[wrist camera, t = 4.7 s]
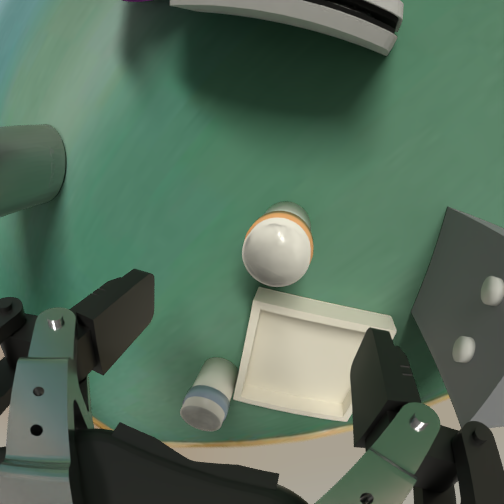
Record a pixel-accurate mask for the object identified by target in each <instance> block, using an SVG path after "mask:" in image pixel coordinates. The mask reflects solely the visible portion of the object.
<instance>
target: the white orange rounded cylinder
mask: <svg viewBox="0 0 504 504" xmlns="http://www.w3.org/2000/svg"><path fill="white" fill-rule="evenodd" d="M312 256H313V237H312V233H311V221H310V218H309V216H308V214H307V212H306V211H305V210H304V209H303V208H302V207H301V206H299V205H298V204H295V203H293V202H279V203H276V204H274V205H272V206H271V207H269V208H268V209H267V211H266V212H265V213H264V215H262V216H261V217H260V218H258V219H257V220H256V221H255V223H254V224H253V225H252V226H251V228H250V229H249V230H248V232H247V234H246V237H245V240H244V244H243V248H242V257H243V262H244V265H245V267H246V269H247V271H248V272H249V273H250V275H251V276H252V277H253V278H255V279H256V280H257V281H259V282H261V283H263V284H265V285H268V286H273V287H283V286H287V285H290V284H293V283H295V282H296V281H298V280H299V279H300V278H301V277H302V276H303V275H304V274H305V272H306V271H307V269H308V267H309V264H310V262H311V259H312Z"/></svg>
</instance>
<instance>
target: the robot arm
mask: <svg viewBox="0 0 504 504" xmlns="http://www.w3.org/2000/svg"><path fill="white" fill-rule="evenodd" d="M65 166H66V164H65V150H64V145H63V142H62V139H61V137H60V135H59V133H58V132H57V131H56V129H55V128H53V127H52V126H50V125H47V124H43V125H18V126H4V127H0V217H3V216H6V215H9V214H11V213H14V212H17V211H20V210H24V209H27V208H30V207H33V206H36V205H39V204H42V203H46V202H48V201H50V200H52V199H53V198H54V197H55V196H56V195H57V193H58V192H59V190H60V188H61V185H62V183H63V179H64V175H65ZM153 314H154V276H153V274H151V273H148V272H144V271H141V270H137V269H133V270H131V271H130V272H129V273H127V274H126V275H125V276H123V277H122V278H121V277H119V278H116V279H113V280H111V281H108V282H107V283H105V284H104V285H102V286H101V287H100V289H97V290H95V291H94V292H93V294H90V295H89V296H87V297H86V298H84V299H83V300H82V301H80V302H79V303H78V304H76V305H75V306H74V307H72V308H71V309H70V310H69V309H66V308H59V307H57V308H50V309H47V310H45V311H43V312H42V313H41V314H40V315H39V316H35V315H31V314H26V313H24V309H23V305H22V302H21V301H20V300H19V299H17V298H14V297H5V298H2V299H0V345H1V348H2V350H3V353H4V355H5V357H4V358H3V359H2V360H0V415H1V414H2V413H3V411H4V410H5V409H6V408H7V407H8V406H9V405H10V410H9V417H8V429H7V443H6V447H0V504H308V503H307V502H306V501H305V500H304V499H302V498H301V497H300V496H299V495H297V494H295V493H294V492H292V491H291V490H289V489H287V488H285V487H283V486H281V485H278V484H277V483H278V477H279V474H278V473H272V472H267V471H262V470H258V469H253V468H249V467H245V466H240V465H230V464H216V463H204V462H196V461H192V460H189V459H187V458H185V457H184V456H182V455H181V454H179V453H177V452H176V451H174V450H173V449H171V448H170V447H168V446H167V445H165V444H164V443H162V442H161V441H159V440H158V439H156V438H155V437H152V436H150V435H147V434H145V433H143V432H140V431H138V430H136V429H134V428H131V427H129V426H127V425H125V424H123V423H121V422H120V423H119V424H118V426H117V427H116V429H115V430H114V431H112V430H106V429H94V425H93V420H92V411H91V399H90V385H89V377H88V374H89V373H90V372H91V370H93V371H95V372H97V373H99V374H101V375H104V374H105V373H106V372H107V371H108V370H109V369H110V367H111V366H112V365H113V364H114V363H115V362H116V361H117V359H118V358H119V357H120V356H121V355H122V354H123V353H124V352H125V350H126V349H127V348H128V347H129V346H130V345H131V344H132V343H133V341H134V340H135V339H136V338H137V337H138V336H139V335H140V334H141V333H142V331H143V330H144V329H145V328H146V327H147V326H148V325H149V324H150V322H151V320H152V317H153ZM412 375H413V374H412V371H411V368H410V365H409V362H408V359H407V356H406V355H405V354H404V352H403V351H402V350H401V349H400V347H399V346H394V344H393V341H392V338H391V335H390V332H389V331H386V330H381V329H376V328H371V327H370V328H368V329H367V331H366V333H365V335H364V338H363V340H362V342H361V344H360V347H359V349H358V351H357V353H356V355H355V358H354V360H353V362H352V366H351V370H350V383H351V397H352V413H353V434H354V447H361V448H366V453H365V454H364V455H363V456H362V458H360V459H359V461H358V462H357V463H356V464H355V465H354V466H353V467H352V468H351V469H350V470H349V471H348V472H347V473H346V474H345V475H344V476H343V477H342V478H341V479H340V480H339V481H338V482H337V483H336V484H335V485H334V486H333V487H332V488H331V489H330V490H329V491H328V492H327V493H326V494H325V495H323V497H321V498H320V499H319V500H318V501H317V502H316V503H314V504H402V503H403V501H404V500H405V498H406V497H407V495H408V494H409V492H410V491H411V489H412V488H413V490H414V504H456V496H455V489H454V484H455V483H456V482H458V481H459V488H460V495H461V504H504V470H503V466H502V463H501V459H500V455H499V452H498V449H497V445H496V442H495V439H494V436H493V434H492V432H491V431H490V429H489V428H488V427H487V426H486V425H484V424H483V423H481V422H478V421H470V422H467V423H466V424H465V425H464V426H463V427H462V428H461V430H460V431H458V430H454V429H451V428H448V427H445V426H442V425H440V420H439V417H438V415H437V414H436V413H435V411H434V410H433V409H431V408H430V407H429V406H427V405H425V404H422V403H421V400H420V396H419V393H418V390H417V386H416V383H415V380H414V377H413V376H412Z"/></svg>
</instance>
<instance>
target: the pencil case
mask: <svg viewBox="0 0 504 504" xmlns="http://www.w3.org/2000/svg"><path fill="white" fill-rule="evenodd" d="M123 1H130V2H143V1H152V0H123Z"/></svg>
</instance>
